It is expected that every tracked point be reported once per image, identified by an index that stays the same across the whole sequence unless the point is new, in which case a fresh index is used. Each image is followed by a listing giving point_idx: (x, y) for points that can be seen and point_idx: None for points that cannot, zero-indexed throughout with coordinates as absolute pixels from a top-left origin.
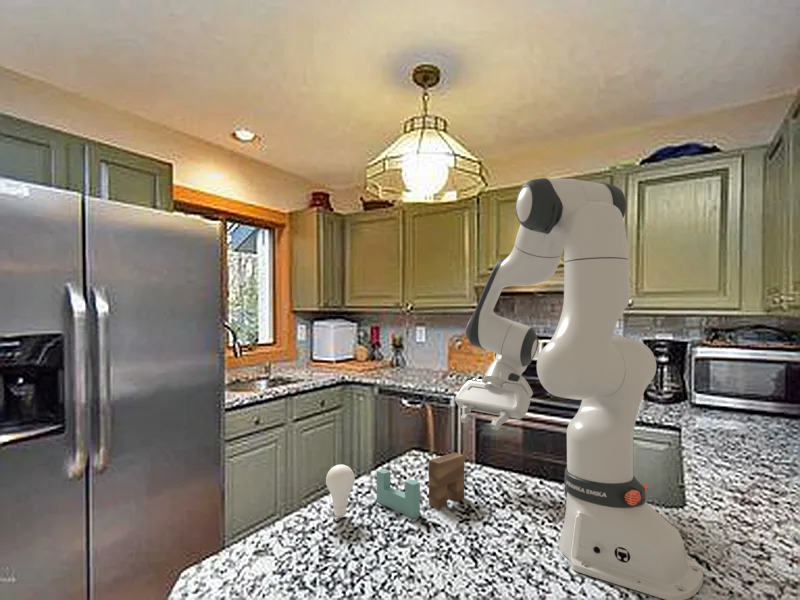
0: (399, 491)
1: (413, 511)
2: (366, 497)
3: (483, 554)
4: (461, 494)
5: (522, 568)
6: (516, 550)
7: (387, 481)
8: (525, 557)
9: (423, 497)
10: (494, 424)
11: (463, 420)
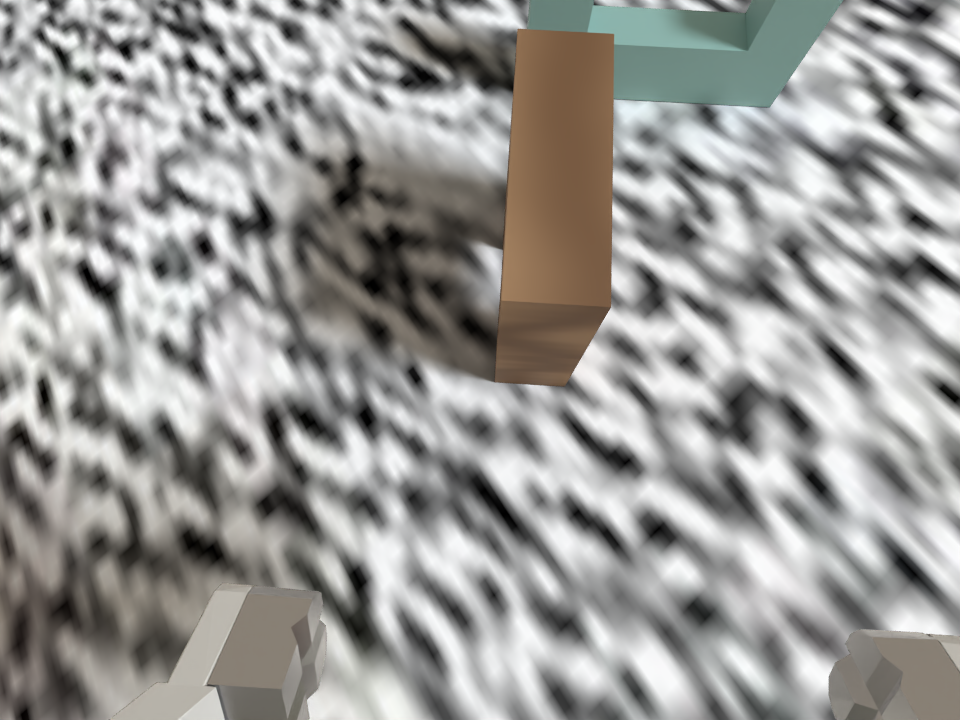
0: (668, 41)
1: None
2: (840, 75)
3: (154, 24)
4: (496, 351)
5: (8, 35)
6: (64, 115)
7: (760, 6)
8: (20, 96)
9: (653, 247)
10: (235, 601)
11: (880, 634)
